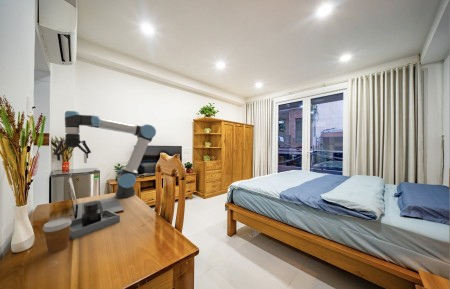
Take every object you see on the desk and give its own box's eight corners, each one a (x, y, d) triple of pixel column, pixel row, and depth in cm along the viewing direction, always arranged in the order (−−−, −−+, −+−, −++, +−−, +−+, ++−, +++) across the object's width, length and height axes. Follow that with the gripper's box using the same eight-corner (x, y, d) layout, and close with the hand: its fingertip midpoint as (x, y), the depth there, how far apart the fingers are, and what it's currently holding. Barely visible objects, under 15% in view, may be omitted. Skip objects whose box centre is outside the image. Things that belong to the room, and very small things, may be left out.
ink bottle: (106, 221, 103) (105, 200, 102) (93, 228, 94) (92, 206, 93) (90, 220, 104) (90, 200, 103) (76, 227, 95) (76, 206, 94)
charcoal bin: (107, 215, 112) (106, 209, 112) (119, 221, 104) (119, 215, 104) (61, 230, 94) (61, 223, 94) (72, 239, 85) (72, 231, 85)
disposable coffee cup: (37, 252, 76) (36, 225, 75) (63, 240, 85) (62, 216, 84) (52, 257, 73) (51, 228, 72) (77, 244, 82) (76, 218, 81)
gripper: (91, 134, 134) (92, 161, 135) (45, 133, 113) (47, 166, 114) (95, 134, 130) (96, 162, 131) (49, 133, 109) (50, 167, 110)
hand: (73, 164), depth 122 cm, fingers open, 13 cm apart
